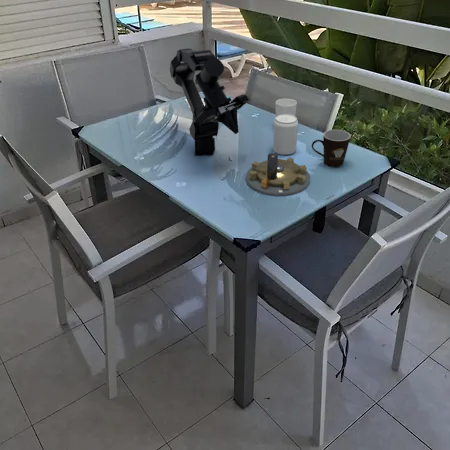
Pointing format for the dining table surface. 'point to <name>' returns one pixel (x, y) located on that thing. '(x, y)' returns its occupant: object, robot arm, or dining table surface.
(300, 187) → the sprocket base
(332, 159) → the coffee mug
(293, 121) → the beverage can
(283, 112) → the white translucent cylinder
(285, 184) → the sprocket
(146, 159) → the dining table surface
